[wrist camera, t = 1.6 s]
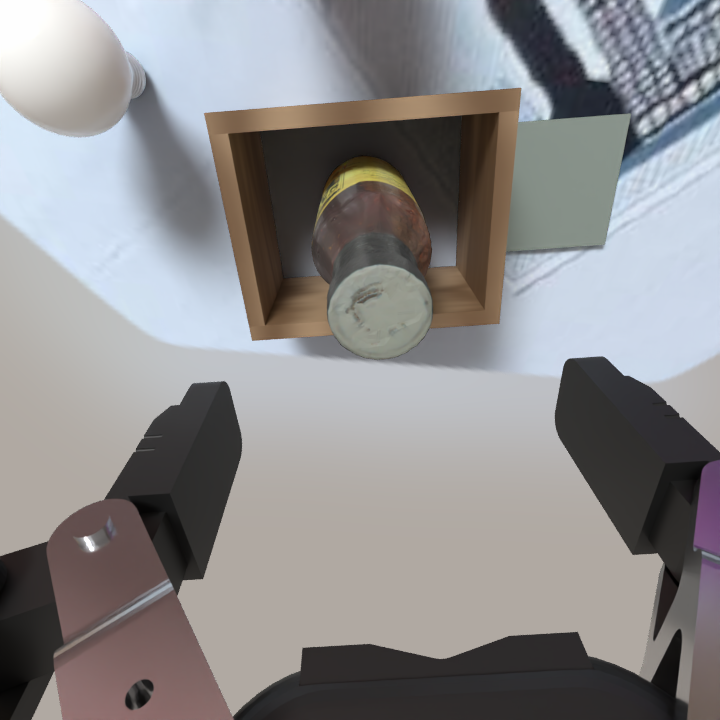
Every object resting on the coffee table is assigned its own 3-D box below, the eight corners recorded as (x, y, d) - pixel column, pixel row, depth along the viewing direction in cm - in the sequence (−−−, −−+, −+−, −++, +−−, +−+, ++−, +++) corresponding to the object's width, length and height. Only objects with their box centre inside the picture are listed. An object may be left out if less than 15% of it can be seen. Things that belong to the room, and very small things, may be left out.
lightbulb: (188, 47, 29) (107, 18, 19) (166, 146, 32) (85, 165, 22) (85, -6, 27) (-58, -66, 18) (71, 102, 30) (-59, 102, 21)
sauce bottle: (322, 152, 32) (287, 209, 15) (409, 154, 32) (477, 212, 15) (324, 244, 35) (297, 379, 18) (403, 245, 35) (453, 380, 18)
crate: (477, 92, 30) (521, 87, 22) (467, 276, 37) (499, 323, 29) (241, 110, 31) (204, 113, 23) (273, 290, 37) (252, 340, 29)
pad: (628, 113, 31) (631, 113, 31) (602, 243, 35) (604, 244, 35) (497, 124, 31) (498, 124, 31) (487, 251, 36) (489, 252, 35)
